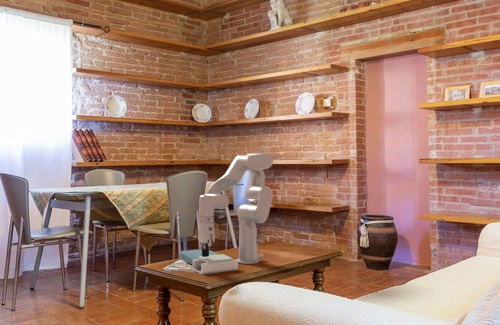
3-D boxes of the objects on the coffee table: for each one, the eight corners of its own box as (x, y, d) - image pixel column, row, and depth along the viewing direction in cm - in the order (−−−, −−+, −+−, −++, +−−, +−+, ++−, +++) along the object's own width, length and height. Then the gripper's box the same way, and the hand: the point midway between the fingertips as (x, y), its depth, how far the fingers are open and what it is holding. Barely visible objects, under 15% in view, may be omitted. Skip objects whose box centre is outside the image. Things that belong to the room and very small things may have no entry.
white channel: (227, 265, 251) (227, 255, 251) (237, 269, 242) (238, 260, 242) (192, 269, 241) (192, 259, 241) (202, 274, 231) (202, 264, 231)
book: (223, 266, 252) (223, 256, 252) (195, 268, 244) (195, 259, 244) (206, 257, 272) (207, 248, 272) (180, 260, 264) (180, 251, 264)
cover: (222, 255, 249) (222, 254, 249) (232, 260, 240) (232, 258, 240) (198, 258, 242) (198, 256, 242) (207, 263, 233) (208, 261, 233)
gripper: (219, 221, 234) (219, 258, 234) (206, 217, 246) (205, 253, 246) (206, 221, 230) (205, 260, 230) (192, 218, 242) (192, 254, 242)
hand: (205, 256), depth 238 cm, fingers closed
